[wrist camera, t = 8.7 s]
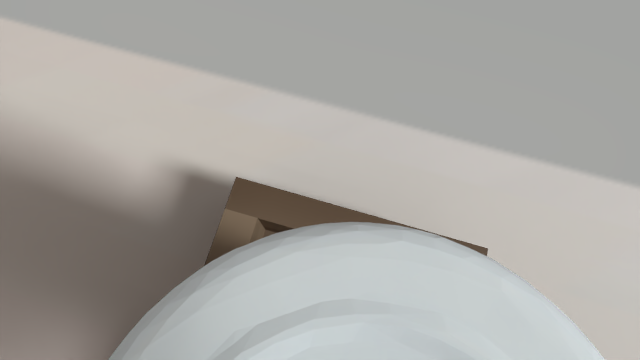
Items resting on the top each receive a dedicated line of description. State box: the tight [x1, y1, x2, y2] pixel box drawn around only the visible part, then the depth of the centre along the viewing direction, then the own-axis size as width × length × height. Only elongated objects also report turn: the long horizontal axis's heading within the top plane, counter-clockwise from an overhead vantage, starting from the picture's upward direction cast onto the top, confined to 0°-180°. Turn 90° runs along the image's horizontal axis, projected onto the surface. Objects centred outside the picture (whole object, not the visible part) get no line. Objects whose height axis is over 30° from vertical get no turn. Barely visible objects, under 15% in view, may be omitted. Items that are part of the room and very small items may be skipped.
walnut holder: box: [204, 177, 488, 266], centre depth 15 cm, size 10×10×3 cm
